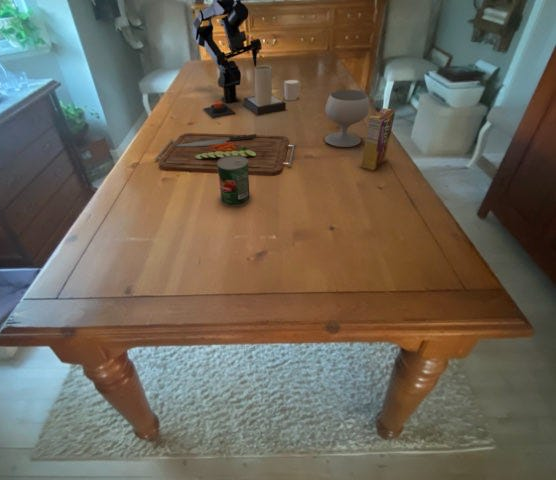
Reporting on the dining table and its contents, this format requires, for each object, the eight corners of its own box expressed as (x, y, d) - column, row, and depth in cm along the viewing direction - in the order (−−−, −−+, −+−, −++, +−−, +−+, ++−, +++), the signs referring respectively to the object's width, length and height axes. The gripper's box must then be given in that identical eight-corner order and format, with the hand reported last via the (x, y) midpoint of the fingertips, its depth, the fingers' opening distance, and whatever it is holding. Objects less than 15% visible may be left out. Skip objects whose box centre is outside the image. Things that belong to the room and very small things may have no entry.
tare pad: (203, 110, 150) (202, 103, 149) (224, 106, 153) (224, 100, 151) (212, 118, 142) (211, 112, 140) (235, 114, 145) (234, 108, 143)
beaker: (254, 105, 142) (252, 69, 134) (256, 99, 147) (255, 65, 138) (270, 105, 141) (270, 69, 133) (272, 99, 146) (272, 65, 138)
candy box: (372, 156, 112) (383, 107, 101) (385, 160, 109) (397, 110, 99) (359, 167, 107) (368, 116, 96) (372, 171, 105) (383, 119, 94)
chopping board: (148, 169, 111) (146, 160, 109) (176, 135, 130) (174, 127, 128) (288, 176, 104) (289, 166, 102) (296, 140, 123) (296, 131, 121)
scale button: (213, 106, 147) (212, 102, 146) (221, 104, 148) (220, 100, 147) (215, 108, 144) (215, 104, 143) (223, 107, 146) (223, 103, 144)
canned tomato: (216, 204, 94) (211, 166, 87) (228, 189, 100) (224, 153, 92) (243, 208, 92) (240, 170, 84) (254, 194, 97) (252, 157, 90)
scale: (243, 105, 153) (243, 97, 151) (269, 100, 157) (269, 92, 154) (257, 115, 143) (257, 107, 140) (285, 110, 146) (285, 101, 144)
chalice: (336, 152, 115) (343, 104, 105) (315, 137, 124) (318, 92, 114) (371, 144, 119) (380, 97, 108) (347, 130, 128) (354, 86, 118)
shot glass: (297, 101, 154) (298, 83, 150) (282, 100, 156) (282, 83, 151) (299, 96, 159) (300, 79, 155) (284, 95, 161) (284, 79, 156)
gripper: (207, 34, 130) (221, 78, 135) (254, 16, 128) (267, 61, 132) (212, 44, 141) (224, 84, 145) (255, 27, 139) (267, 68, 143)
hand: (245, 74), depth 141 cm, fingers open, 9 cm apart
